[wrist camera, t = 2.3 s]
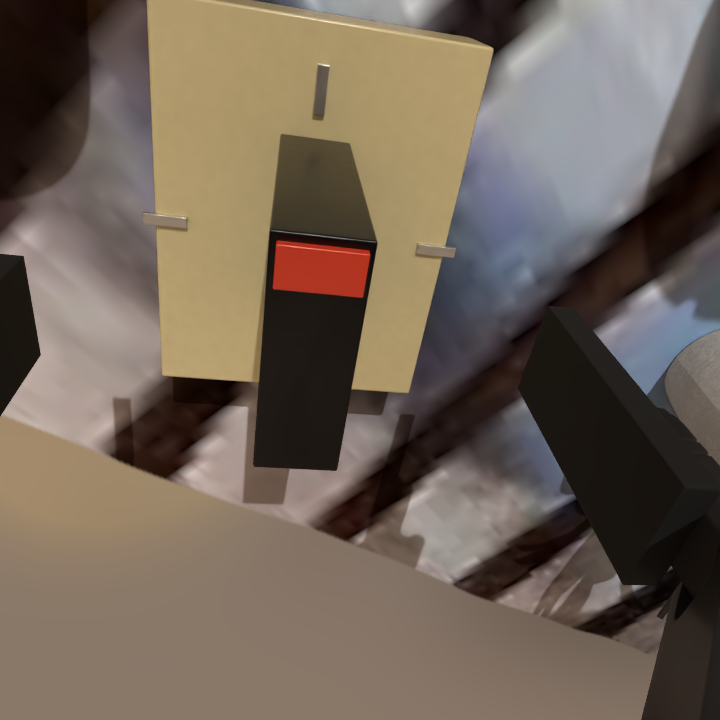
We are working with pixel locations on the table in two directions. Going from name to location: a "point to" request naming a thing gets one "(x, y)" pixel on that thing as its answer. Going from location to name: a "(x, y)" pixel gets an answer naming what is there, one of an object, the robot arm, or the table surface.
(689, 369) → the house plant
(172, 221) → the tan box
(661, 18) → the table surface
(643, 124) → the table surface
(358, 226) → the red-topped black block
